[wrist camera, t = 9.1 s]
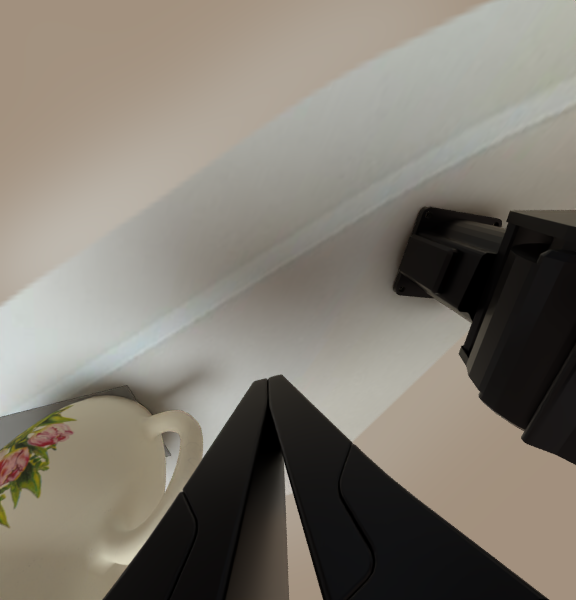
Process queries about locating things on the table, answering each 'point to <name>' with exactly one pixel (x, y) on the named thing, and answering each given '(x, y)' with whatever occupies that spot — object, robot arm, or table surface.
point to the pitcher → (86, 495)
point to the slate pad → (15, 424)
